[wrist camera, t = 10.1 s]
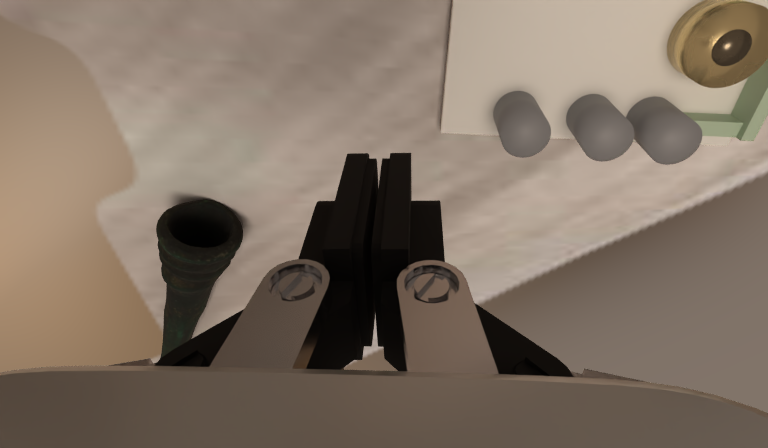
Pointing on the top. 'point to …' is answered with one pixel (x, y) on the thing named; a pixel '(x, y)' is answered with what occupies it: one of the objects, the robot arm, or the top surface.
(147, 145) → the top surface
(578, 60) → the board
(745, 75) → the gold short round piece
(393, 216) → the robot arm
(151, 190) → the top surface
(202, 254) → the tool
